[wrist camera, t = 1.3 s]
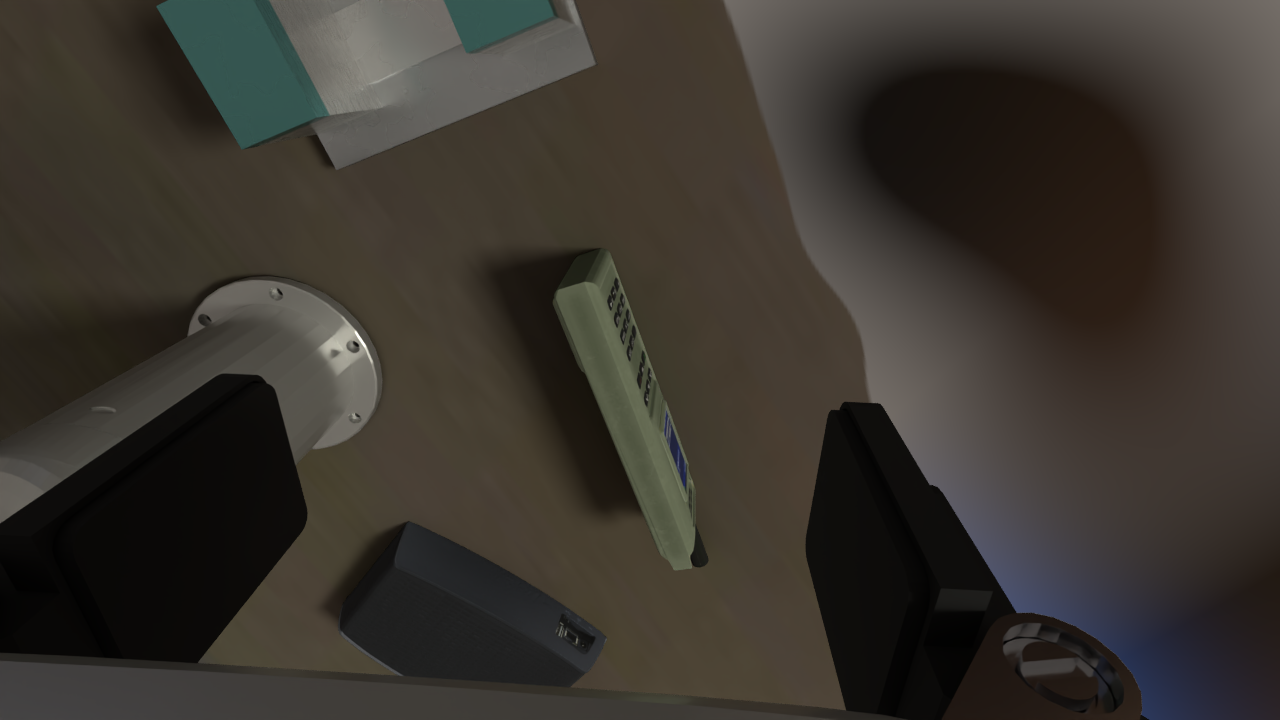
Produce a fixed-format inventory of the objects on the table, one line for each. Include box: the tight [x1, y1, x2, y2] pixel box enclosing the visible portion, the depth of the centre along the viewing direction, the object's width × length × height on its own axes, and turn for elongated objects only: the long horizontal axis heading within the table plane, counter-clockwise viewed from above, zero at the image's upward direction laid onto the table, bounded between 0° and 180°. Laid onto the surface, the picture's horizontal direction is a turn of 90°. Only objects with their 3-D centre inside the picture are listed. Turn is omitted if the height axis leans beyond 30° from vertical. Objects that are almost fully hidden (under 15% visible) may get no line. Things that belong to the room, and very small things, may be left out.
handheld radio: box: [553, 248, 708, 570], centre depth 40 cm, size 7×3×25 cm
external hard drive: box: [338, 522, 607, 687], centre depth 51 cm, size 13×19×4 cm
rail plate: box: [156, 0, 598, 170], centre depth 29 cm, size 16×10×8 cm, turn 110°
